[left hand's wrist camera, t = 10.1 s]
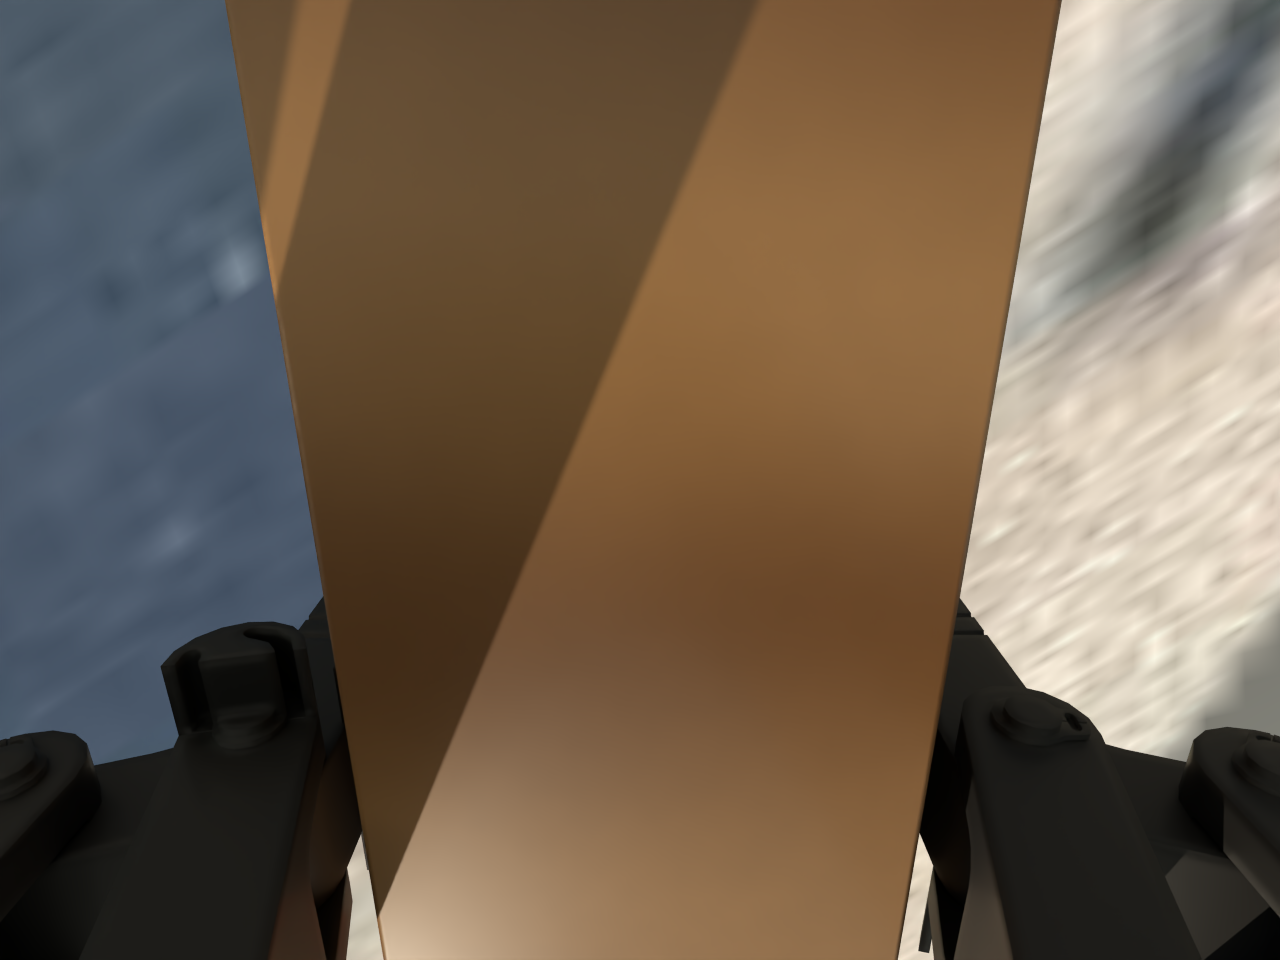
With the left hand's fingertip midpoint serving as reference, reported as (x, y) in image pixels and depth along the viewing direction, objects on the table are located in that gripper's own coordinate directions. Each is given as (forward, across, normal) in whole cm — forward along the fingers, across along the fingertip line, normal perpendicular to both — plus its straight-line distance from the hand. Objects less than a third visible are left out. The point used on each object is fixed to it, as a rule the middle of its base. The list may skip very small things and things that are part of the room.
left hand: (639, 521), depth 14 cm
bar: (+1, 0, -26) cm, 26 cm away
